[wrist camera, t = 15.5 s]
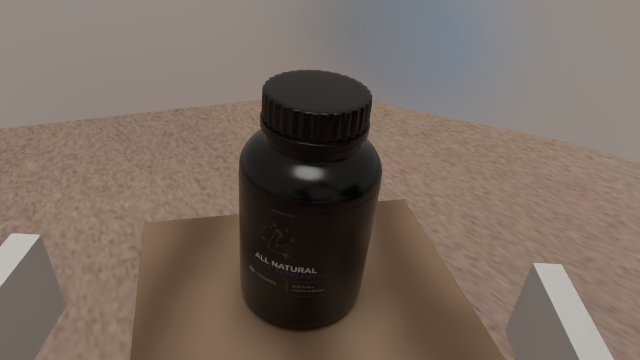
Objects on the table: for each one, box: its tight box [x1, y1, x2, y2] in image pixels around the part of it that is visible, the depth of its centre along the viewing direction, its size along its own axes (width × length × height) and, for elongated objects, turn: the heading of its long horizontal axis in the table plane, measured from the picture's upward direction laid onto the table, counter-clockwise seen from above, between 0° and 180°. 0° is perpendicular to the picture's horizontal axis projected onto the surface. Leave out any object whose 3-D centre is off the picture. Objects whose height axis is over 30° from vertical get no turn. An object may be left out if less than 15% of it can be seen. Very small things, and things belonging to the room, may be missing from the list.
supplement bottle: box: [239, 70, 382, 328], centre depth 24 cm, size 7×7×12 cm
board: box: [130, 199, 505, 360], centre depth 27 cm, size 18×14×1 cm
